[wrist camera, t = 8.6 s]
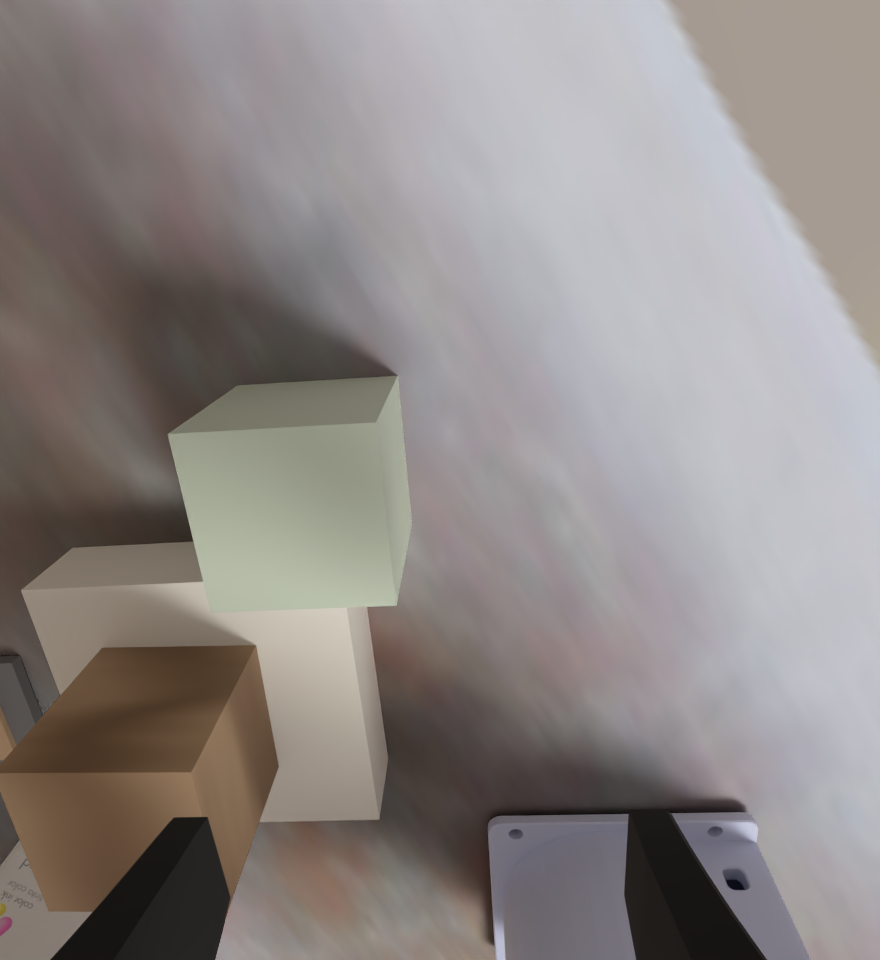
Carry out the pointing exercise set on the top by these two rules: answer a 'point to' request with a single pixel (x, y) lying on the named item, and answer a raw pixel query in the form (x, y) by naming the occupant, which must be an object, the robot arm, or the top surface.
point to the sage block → (298, 494)
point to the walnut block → (141, 766)
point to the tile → (15, 704)
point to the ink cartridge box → (30, 914)
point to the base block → (276, 633)
